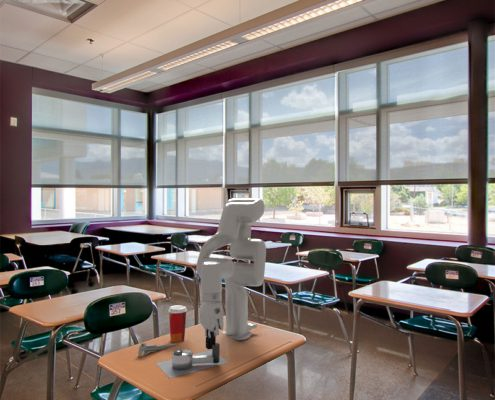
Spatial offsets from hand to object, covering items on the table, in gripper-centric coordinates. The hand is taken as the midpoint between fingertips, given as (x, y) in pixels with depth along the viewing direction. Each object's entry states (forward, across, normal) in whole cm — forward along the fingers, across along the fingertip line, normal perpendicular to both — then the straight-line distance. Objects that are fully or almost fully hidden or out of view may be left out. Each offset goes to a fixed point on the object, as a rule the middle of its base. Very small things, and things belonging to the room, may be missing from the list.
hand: (210, 347), depth 133 cm
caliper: (+7, +20, +11) cm, 23 cm away
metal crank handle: (+4, 0, +6) cm, 7 cm away
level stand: (+6, +2, +6) cm, 9 cm away
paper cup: (+6, +28, +2) cm, 29 cm away
